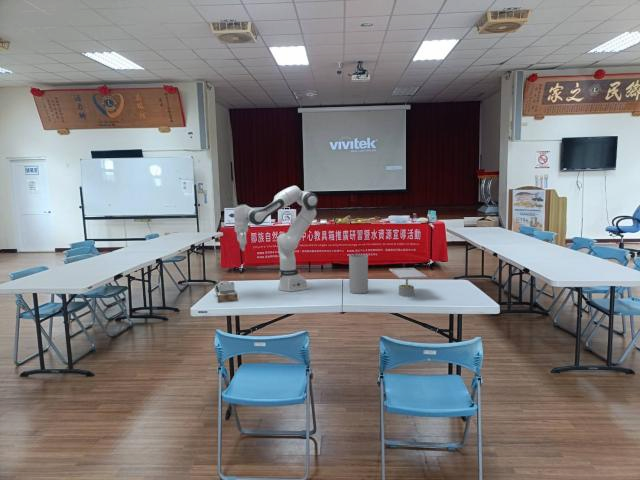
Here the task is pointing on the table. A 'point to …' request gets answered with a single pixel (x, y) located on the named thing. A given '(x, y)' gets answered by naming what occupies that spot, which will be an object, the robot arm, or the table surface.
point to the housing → (227, 288)
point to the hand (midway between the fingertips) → (242, 249)
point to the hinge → (217, 287)
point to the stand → (227, 297)
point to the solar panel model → (407, 273)
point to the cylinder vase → (358, 273)
